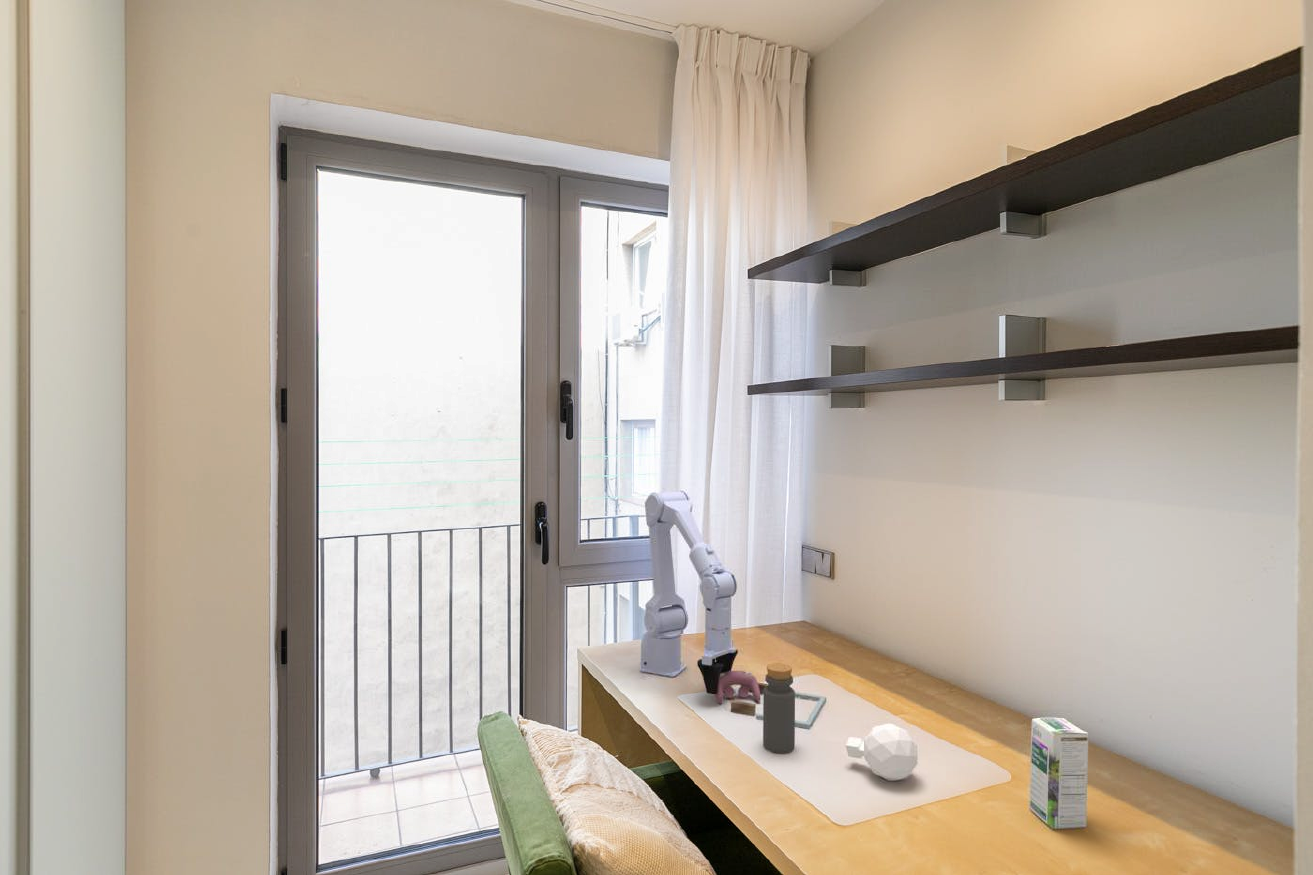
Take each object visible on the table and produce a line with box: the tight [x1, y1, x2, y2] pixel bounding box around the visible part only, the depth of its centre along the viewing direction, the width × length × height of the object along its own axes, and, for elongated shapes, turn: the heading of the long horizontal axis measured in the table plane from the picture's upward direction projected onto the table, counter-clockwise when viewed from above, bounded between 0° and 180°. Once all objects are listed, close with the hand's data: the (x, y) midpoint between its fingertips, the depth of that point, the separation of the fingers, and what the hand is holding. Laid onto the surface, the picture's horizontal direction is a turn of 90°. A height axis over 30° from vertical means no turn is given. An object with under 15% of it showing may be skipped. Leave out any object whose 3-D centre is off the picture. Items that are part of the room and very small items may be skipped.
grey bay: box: [755, 691, 827, 730], centre depth 147 cm, size 11×16×1 cm
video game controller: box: [715, 670, 761, 705], centre depth 153 cm, size 10×5×7 cm, turn 96°
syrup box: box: [1029, 716, 1089, 830], centre depth 106 cm, size 6×6×14 cm
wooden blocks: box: [730, 681, 769, 716], centre depth 151 cm, size 5×13×2 cm, turn 155°
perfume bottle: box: [845, 722, 919, 782], centre depth 120 cm, size 9×9×12 cm
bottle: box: [762, 662, 796, 754], centre depth 130 cm, size 6×6×15 cm
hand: (717, 687), depth 154 cm, fingers open, 7 cm apart
